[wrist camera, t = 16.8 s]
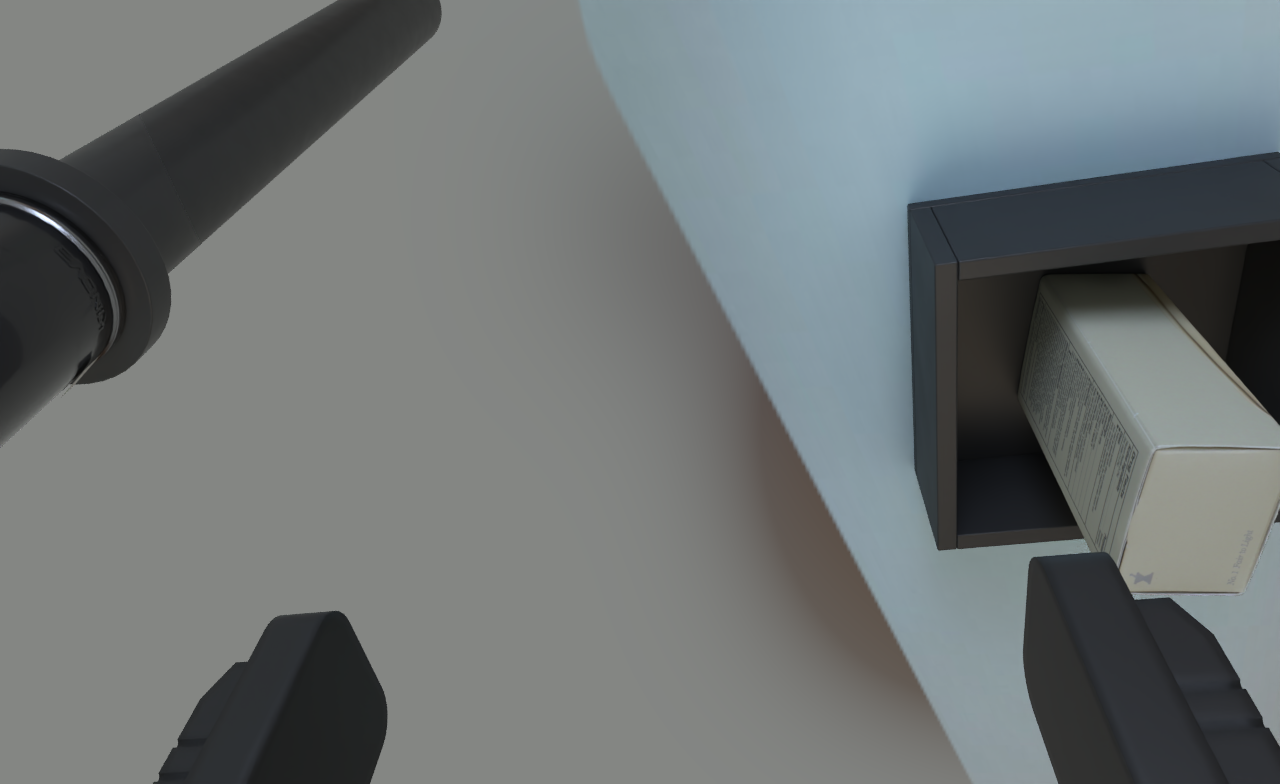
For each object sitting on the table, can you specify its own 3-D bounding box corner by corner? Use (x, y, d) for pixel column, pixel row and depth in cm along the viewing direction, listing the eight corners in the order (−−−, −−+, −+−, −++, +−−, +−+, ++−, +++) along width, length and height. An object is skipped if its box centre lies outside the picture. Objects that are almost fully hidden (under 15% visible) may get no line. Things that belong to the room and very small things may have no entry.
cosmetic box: (1115, 396, 40) (1247, 602, 30) (1010, 397, 41) (1106, 601, 31) (1150, 266, 37) (1313, 448, 27) (1035, 268, 37) (1153, 449, 27)
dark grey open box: (914, 470, 44) (937, 551, 39) (907, 203, 37) (934, 264, 32) (1222, 440, 42) (1285, 522, 37) (1278, 151, 35) (1365, 208, 30)
